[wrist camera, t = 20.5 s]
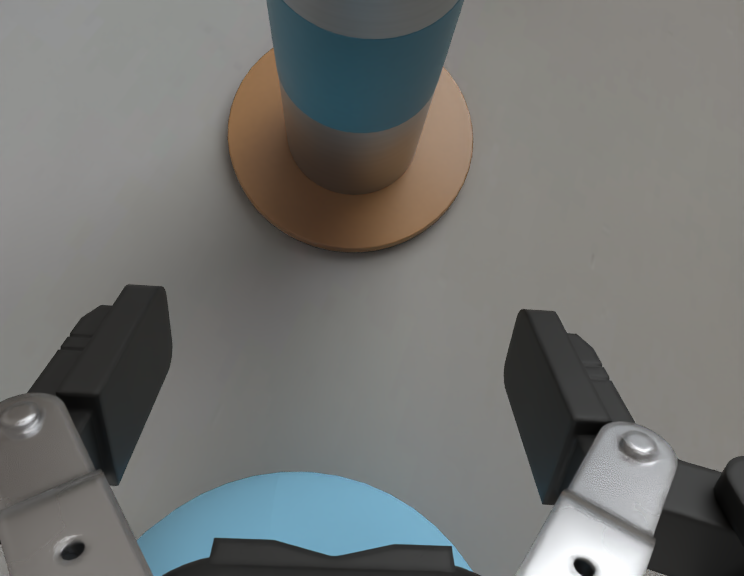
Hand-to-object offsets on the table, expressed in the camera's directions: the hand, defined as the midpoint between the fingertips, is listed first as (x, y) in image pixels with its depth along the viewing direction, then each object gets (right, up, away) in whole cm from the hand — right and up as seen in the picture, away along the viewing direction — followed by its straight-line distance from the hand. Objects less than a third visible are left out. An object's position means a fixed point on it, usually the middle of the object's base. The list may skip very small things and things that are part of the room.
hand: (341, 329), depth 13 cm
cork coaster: (0, +8, +13) cm, 15 cm away
